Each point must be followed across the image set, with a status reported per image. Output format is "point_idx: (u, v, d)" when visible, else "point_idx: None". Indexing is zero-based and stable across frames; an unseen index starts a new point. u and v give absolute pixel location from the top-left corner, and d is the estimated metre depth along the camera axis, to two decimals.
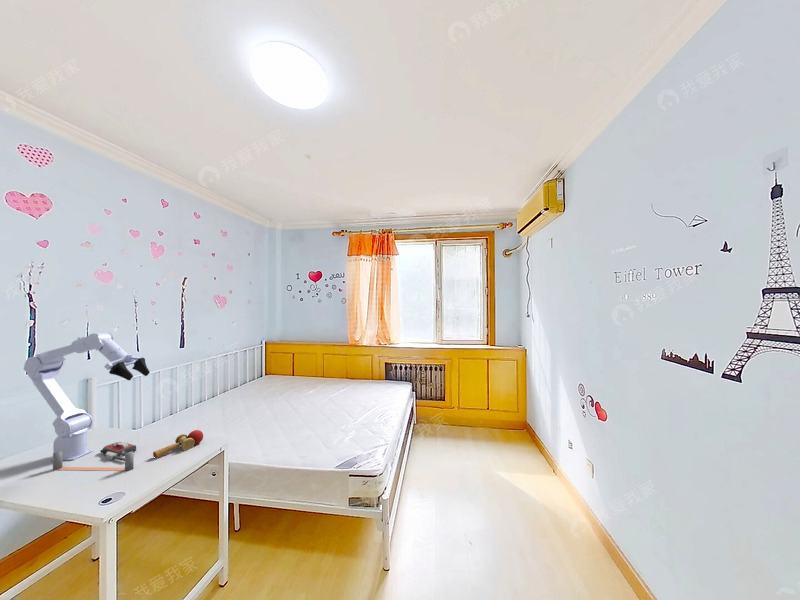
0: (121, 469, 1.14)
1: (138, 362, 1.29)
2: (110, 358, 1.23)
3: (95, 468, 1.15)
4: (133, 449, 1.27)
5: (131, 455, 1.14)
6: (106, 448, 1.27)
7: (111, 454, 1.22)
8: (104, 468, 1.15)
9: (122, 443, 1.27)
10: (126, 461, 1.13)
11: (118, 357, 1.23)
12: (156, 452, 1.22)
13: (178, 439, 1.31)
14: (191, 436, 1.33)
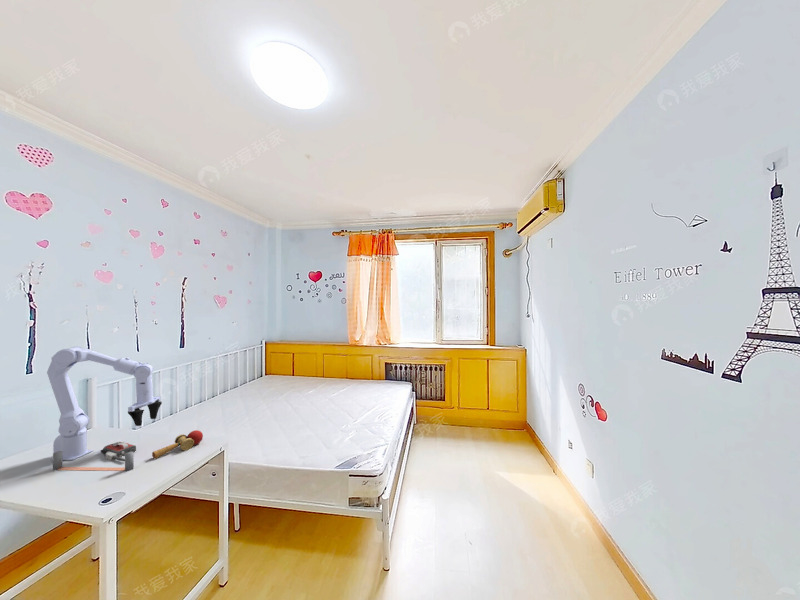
0: (121, 469, 1.14)
1: (154, 405, 1.41)
2: (138, 396, 1.34)
3: (95, 468, 1.15)
4: (133, 449, 1.27)
5: (131, 455, 1.14)
6: (106, 448, 1.27)
7: (111, 454, 1.22)
8: (104, 468, 1.15)
9: (122, 443, 1.27)
10: (126, 461, 1.13)
11: (144, 400, 1.34)
12: (155, 452, 1.22)
13: (177, 439, 1.31)
14: (190, 436, 1.32)
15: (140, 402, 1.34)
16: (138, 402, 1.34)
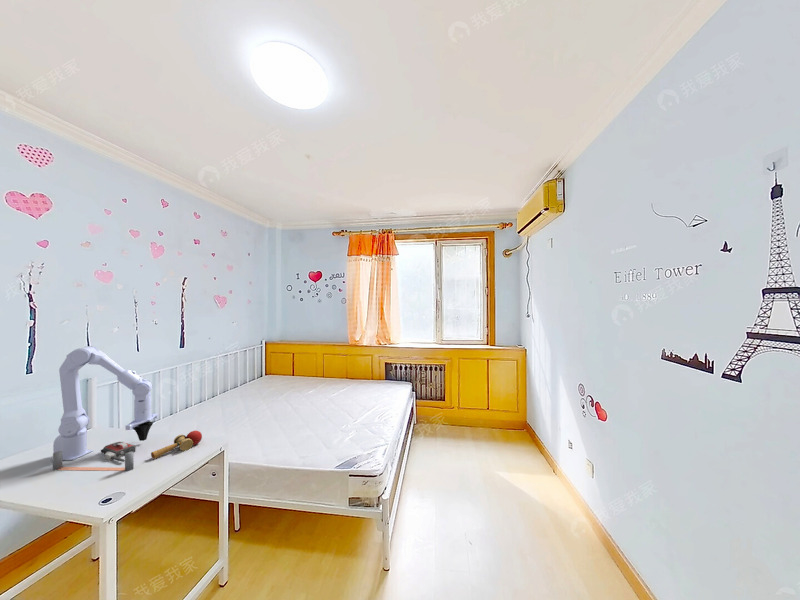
0: (121, 469, 1.14)
1: None
2: (136, 414, 1.33)
3: (95, 468, 1.15)
4: (132, 449, 1.27)
5: (131, 455, 1.14)
6: (106, 448, 1.27)
7: (110, 454, 1.22)
8: (104, 468, 1.15)
9: (121, 443, 1.27)
10: (126, 461, 1.13)
11: (141, 418, 1.34)
12: (154, 453, 1.22)
13: (176, 439, 1.31)
14: (189, 437, 1.32)
15: (138, 420, 1.33)
16: (136, 420, 1.33)
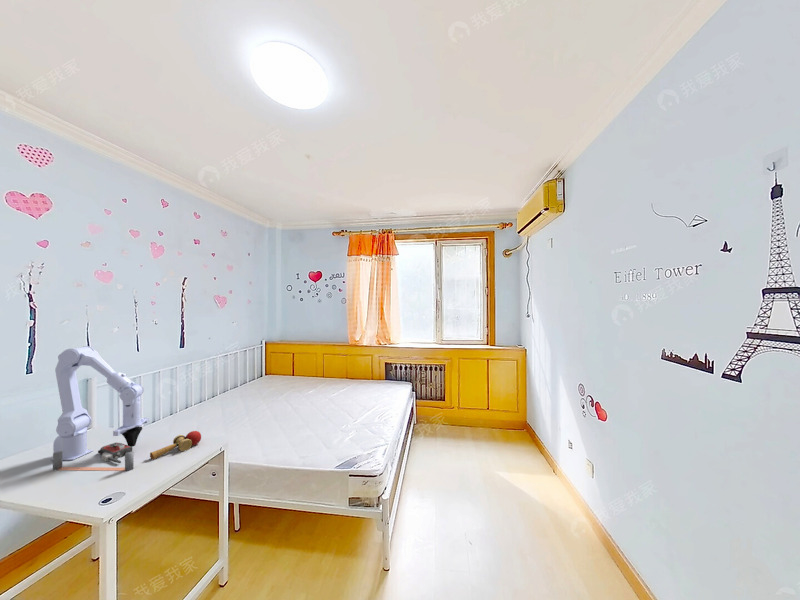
0: (121, 469, 1.14)
1: None
2: (124, 419, 1.28)
3: (95, 468, 1.15)
4: (129, 451, 1.26)
5: (131, 455, 1.14)
6: (103, 449, 1.26)
7: (106, 455, 1.21)
8: (104, 468, 1.15)
9: (118, 444, 1.26)
10: (126, 461, 1.13)
11: (130, 423, 1.28)
12: (153, 453, 1.22)
13: (175, 440, 1.30)
14: (189, 437, 1.32)
15: (126, 425, 1.28)
16: (124, 425, 1.28)
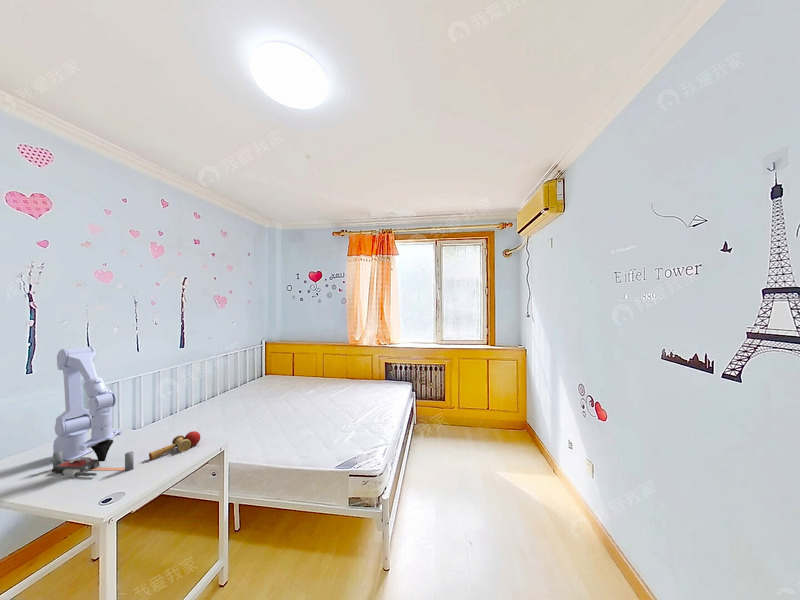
0: (121, 469, 1.14)
1: None
2: (93, 431, 1.15)
3: (95, 468, 1.15)
4: (97, 463, 1.16)
5: (131, 455, 1.14)
6: (61, 466, 1.13)
7: (72, 471, 1.10)
8: (104, 468, 1.15)
9: (82, 458, 1.15)
10: (126, 461, 1.13)
11: (99, 436, 1.16)
12: (152, 453, 1.21)
13: (174, 440, 1.30)
14: (188, 437, 1.31)
15: (95, 438, 1.15)
16: (93, 438, 1.15)
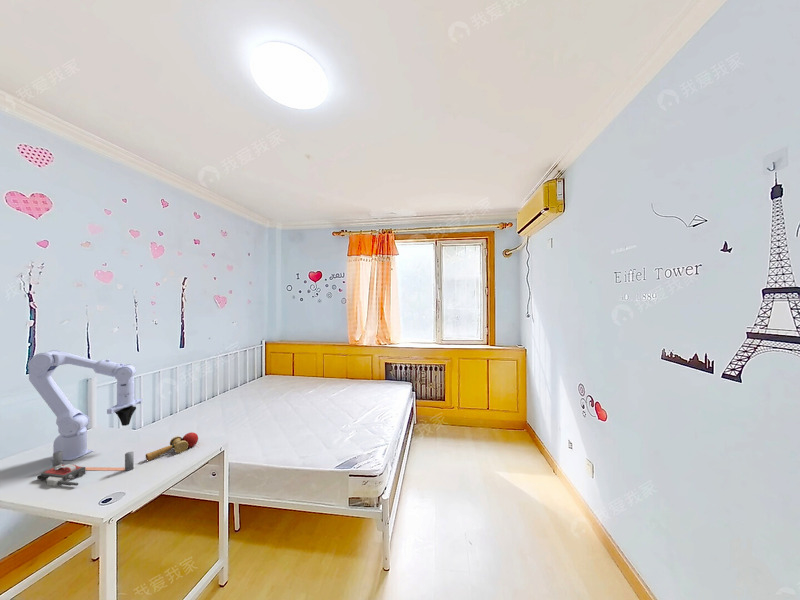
0: (121, 469, 1.14)
1: None
2: (118, 398, 1.31)
3: (95, 468, 1.15)
4: (82, 471, 1.10)
5: (131, 455, 1.14)
6: (46, 473, 1.08)
7: (55, 479, 1.05)
8: (104, 468, 1.15)
9: (67, 466, 1.10)
10: (126, 461, 1.13)
11: (124, 402, 1.31)
12: (148, 454, 1.20)
13: (172, 441, 1.29)
14: (185, 439, 1.30)
15: (120, 404, 1.31)
16: (118, 404, 1.31)
